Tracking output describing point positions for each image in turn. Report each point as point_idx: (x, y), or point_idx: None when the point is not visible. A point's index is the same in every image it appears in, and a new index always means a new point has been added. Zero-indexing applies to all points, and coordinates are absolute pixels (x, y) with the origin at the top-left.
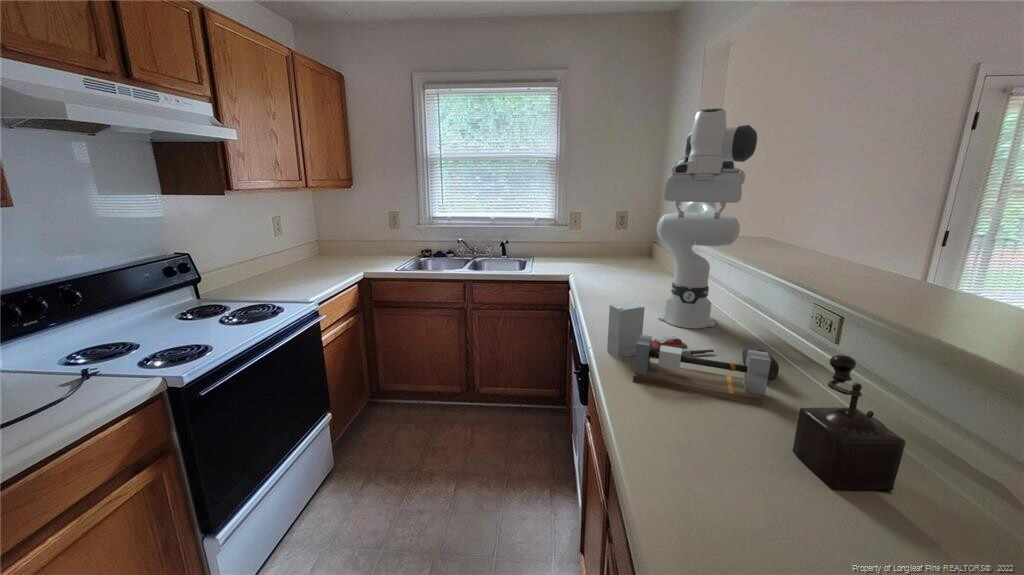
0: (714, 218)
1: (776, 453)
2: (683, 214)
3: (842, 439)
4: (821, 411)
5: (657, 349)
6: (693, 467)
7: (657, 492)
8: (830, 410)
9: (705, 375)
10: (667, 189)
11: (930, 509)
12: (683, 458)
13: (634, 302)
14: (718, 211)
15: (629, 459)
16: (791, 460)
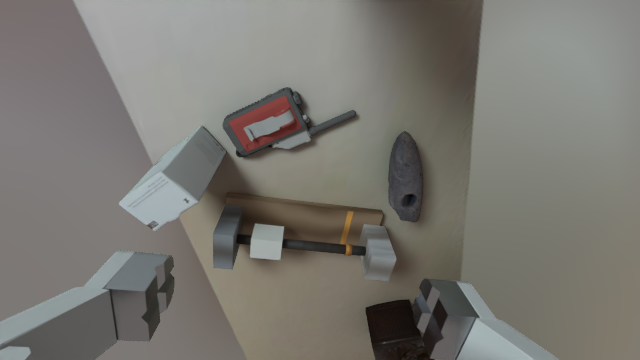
0: (416, 307)
1: (352, 311)
2: (156, 288)
3: None
4: (386, 349)
5: (252, 152)
6: (286, 336)
7: (262, 356)
8: (390, 357)
9: (319, 218)
10: None
11: (423, 333)
12: (280, 330)
13: (168, 178)
14: (480, 339)
15: (242, 339)
16: (359, 315)
